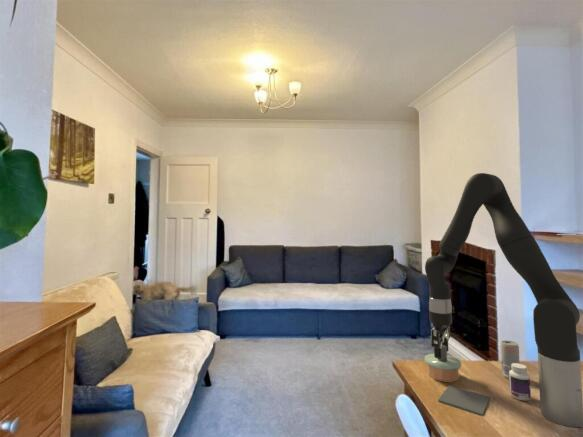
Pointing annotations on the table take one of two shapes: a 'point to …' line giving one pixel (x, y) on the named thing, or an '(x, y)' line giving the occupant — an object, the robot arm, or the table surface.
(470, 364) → the table surface
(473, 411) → the mat
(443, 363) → the lid
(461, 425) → the table surface
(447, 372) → the bowl
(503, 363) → the energy drink
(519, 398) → the pill bottle
